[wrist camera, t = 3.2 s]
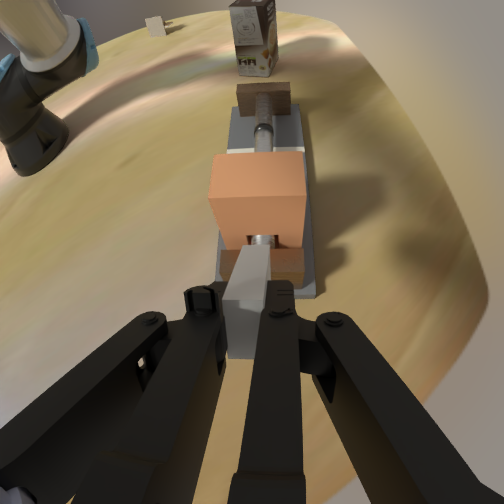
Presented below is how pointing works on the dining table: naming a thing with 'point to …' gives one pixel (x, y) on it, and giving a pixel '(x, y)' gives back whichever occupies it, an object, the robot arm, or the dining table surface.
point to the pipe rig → (263, 108)
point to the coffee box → (255, 36)
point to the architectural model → (156, 26)
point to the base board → (284, 140)
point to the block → (259, 197)
